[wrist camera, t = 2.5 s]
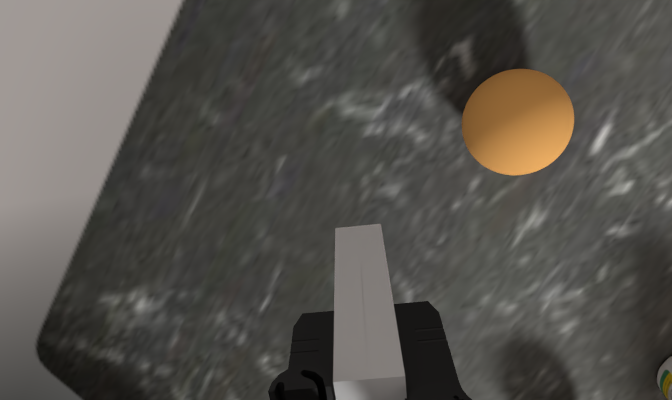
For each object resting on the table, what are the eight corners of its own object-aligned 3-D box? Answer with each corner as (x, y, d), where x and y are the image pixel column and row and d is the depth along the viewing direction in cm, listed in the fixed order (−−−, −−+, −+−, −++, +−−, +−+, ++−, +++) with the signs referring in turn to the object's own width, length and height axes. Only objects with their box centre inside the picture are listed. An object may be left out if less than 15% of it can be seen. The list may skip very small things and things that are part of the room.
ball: (452, 158, 32) (476, 197, 26) (451, 66, 29) (477, 88, 24) (545, 148, 31) (588, 186, 26) (552, 54, 29) (601, 73, 23)
